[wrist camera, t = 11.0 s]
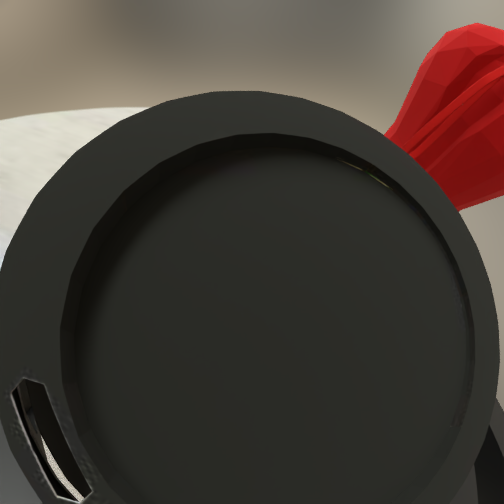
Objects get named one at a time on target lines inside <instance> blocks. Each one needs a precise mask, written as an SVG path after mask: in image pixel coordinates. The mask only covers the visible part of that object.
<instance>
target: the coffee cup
mask: <svg viewBox="0 0 504 504" xmlns="http://www.w3.org/2000/svg"><path fill="white" fill-rule="evenodd" d="M499 351H500V350H499V330H498V320H497V313H496V308H495V303H494V298H493V293H492V288H491V284H490V281H489V278H488V275H487V272H486V269H485V266H484V264H483V261H482V258H481V255H480V253H479V250H478V248H477V246H476V243H475V242H474V240H473V238H472V236H471V234H470V232H469V230H468V228H467V226H466V224H465V223H464V221H463V219H462V217H461V215H460V214H459V212H458V211H457V209H456V208H455V206H454V205H453V204H452V202H451V201H450V200H449V198H448V197H447V195H446V194H445V193H444V191H443V190H442V189H441V187H440V186H439V185H438V184H437V182H436V181H435V180H434V179H433V178H432V177H431V176H430V175H429V174H428V173H427V172H426V171H425V170H424V169H423V168H422V167H421V166H420V165H419V164H418V163H417V162H416V161H415V160H414V159H413V158H412V157H411V156H410V155H409V154H408V153H406V152H405V151H404V150H403V149H401V148H400V147H399V146H397V145H396V144H395V143H393V142H392V141H391V140H389V139H388V138H387V137H385V136H384V135H383V134H381V133H380V132H378V131H377V130H375V129H373V128H371V127H370V126H368V125H366V124H364V123H362V122H360V121H359V120H357V119H355V118H353V117H351V116H349V115H347V114H345V113H343V112H341V111H338V110H335V109H333V108H330V107H327V106H324V105H321V104H318V103H315V102H312V101H309V100H306V99H303V98H298V97H293V96H287V95H282V94H275V93H269V92H262V91H219V92H209V93H204V94H198V95H193V96H188V97H184V98H179V99H175V100H170V101H166V102H164V103H161V104H159V105H156V106H154V107H151V108H149V109H146V110H144V111H142V112H139V113H137V114H135V115H132V116H130V117H128V118H126V119H123V120H121V121H119V122H118V123H116V124H115V125H113V126H112V127H110V128H109V129H107V130H106V131H104V132H103V133H101V134H100V135H98V136H97V137H96V138H94V139H93V140H91V141H90V142H89V143H87V144H86V145H84V146H83V147H82V148H80V149H79V150H78V151H76V152H75V153H74V154H73V155H72V156H71V157H70V158H69V159H68V160H67V161H66V162H65V164H64V165H63V166H62V167H61V168H60V169H59V170H58V171H57V172H56V173H55V174H54V176H53V177H52V178H51V179H50V180H49V181H48V182H47V183H46V185H45V186H44V187H43V188H42V189H41V190H40V192H39V193H38V194H37V195H36V197H35V198H34V200H33V202H32V203H31V205H30V207H29V208H28V210H27V212H26V214H25V216H24V217H23V219H22V221H21V223H20V225H19V226H18V228H17V230H16V232H15V234H14V236H13V238H12V240H11V242H10V244H9V246H8V248H7V250H6V253H5V256H4V260H3V263H2V267H1V270H0V420H1V423H2V427H3V430H4V433H5V436H6V439H7V442H8V445H9V447H10V450H11V452H12V454H13V456H14V458H15V460H16V461H17V463H18V465H19V467H20V468H21V470H22V472H23V474H24V475H25V477H26V479H27V480H28V482H29V483H30V485H31V487H32V488H33V490H34V491H35V493H36V494H37V496H38V497H39V499H40V500H41V502H42V503H43V504H450V502H451V501H452V499H453V498H454V497H455V495H456V494H457V492H458V491H459V489H460V488H461V486H462V485H463V483H464V482H465V480H466V479H467V477H468V475H469V473H470V471H471V469H472V467H473V465H474V462H475V460H476V458H477V456H478V454H479V452H480V449H481V447H482V445H483V442H484V440H485V437H486V433H487V430H488V427H489V423H490V420H491V416H492V412H493V408H494V404H495V399H496V392H497V384H498V375H499V363H500V352H499ZM24 378H25V382H26V386H27V390H28V394H29V398H30V402H31V406H32V409H33V412H34V416H35V419H36V422H37V425H38V429H39V432H40V434H41V436H42V438H43V439H44V441H45V443H46V445H47V447H48V449H49V450H50V452H51V454H52V456H53V457H54V459H55V461H56V463H57V464H58V466H59V468H60V469H61V471H62V472H63V474H64V476H65V477H66V478H67V480H68V481H69V482H70V483H71V484H72V485H73V486H74V487H75V489H76V490H77V491H78V492H79V493H80V494H81V495H82V496H83V497H84V498H85V499H84V500H82V501H81V502H79V501H78V500H77V499H76V498H75V497H74V496H73V495H72V494H71V493H70V492H69V490H68V489H67V488H66V487H65V486H64V485H63V484H62V483H61V481H60V480H59V479H58V478H57V476H56V475H55V473H54V471H53V470H52V468H51V466H50V465H49V463H48V461H47V460H46V458H45V456H44V454H43V453H42V451H41V449H40V447H39V445H38V443H37V442H36V440H35V438H34V436H33V434H32V432H31V429H30V426H29V422H28V419H27V416H26V412H25V409H24V405H23V402H22V398H21V394H20V390H19V386H18V385H19V383H20V382H21V381H22V380H23V379H24Z"/></svg>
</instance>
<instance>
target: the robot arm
mask: <svg viewBox="0 0 504 504" xmlns="http://www.w3.org/2000/svg"><path fill="white" fill-rule="evenodd" d="M18 386H19V390H20V394H21V398H22V402H23V405H24V409H25V412H26V416H27V419H28V422H29V426H30V429H31V432H32V434H33V436H34V438H35V440H36V442H37V443H38V445H39V447H40V449H41V451H42V453H43V454H44V456H45V458H46V460H47V457H46V454H45V450H44V446H43V442H42V438H41V434H40V432H39V429H38V425H37V422H36V419H35V416H34V412H33V409H32V406H31V402H30V398H29V394H28V390H27V386H26V382H25V378H24V379H23V380H22V381H21V382H20V383H19V385H18ZM0 504H43V503H42V502H41V500H40V499H39V497H38V496H37V494H36V493H35V491H34V490H33V488H32V487H31V485H30V483H29V482H28V480H27V479H26V477H25V475H24V474H23V472H22V470H21V468H20V467H19V465H18V463H17V461H16V460H15V458H14V456H13V454H12V452H11V450H10V447H9V445H8V442H7V439H6V436H5V433H4V430H3V427H2V423H1V420H0ZM450 504H504V411H503V409H502V408H501V406H500V404H499V402H498V400H497V399H495V404H494V408H493V412H492V416H491V420H490V423H489V427H488V430H487V433H486V437H485V440H484V442H483V445H482V447H481V449H480V452H479V454H478V456H477V458H476V460H475V462H474V465H473V467H472V469H471V471H470V473H469V475H468V477H467V479H466V480H465V482H464V483H463V485H462V486H461V488H460V489H459V491H458V492H457V494H456V495H455V497H454V498H453V499H452V501H451V502H450Z"/></svg>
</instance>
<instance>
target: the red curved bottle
mask: <svg viewBox="0 0 504 504" xmlns="http://www.w3.org/2000/svg"><path fill="white" fill-rule="evenodd" d="M384 136H385V137H387V138H388V139H389V140H391V141H392V142H393V143H395V144H396V145H397V146H399V147H400V148H401V149H403V150H404V151H405V152H406V153H408V154H409V155H410V156H411V157H412V158H413V159H414V160H415V161H416V162H417V163H418V164H419V165H420V166H421V167H422V168H423V169H424V170H425V171H426V172H427V173H428V174H429V175H430V176H431V177H432V178H433V179H434V180H435V181H436V182H437V184H438V185H439V186H440V187H441V189H442V190H443V191H444V193H445V194H446V195H447V197H448V198H449V200H450V201H451V202H452V204H453V205H454V206H455V208H456V209H457V211H458V212H459V211H460V210H462V209H465V208H468V207H471V206H474V205H477V204H479V203H483V202H485V201H488V200H491V199H494V198H497V197H500V196H503V195H504V30H501V29H498V28H494V27H491V26H487V25H483V24H479V23H474V24H471V25H467V26H464V27H461V28H458V29H455V30H452V31H449V32H446V33H445V35H444V36H443V37H442V38H441V39H440V40H439V41H438V43H437V44H436V45H435V46H434V47H433V48H432V49H431V50H430V52H429V53H428V54H427V55H426V57H425V59H424V61H423V63H422V64H421V66H420V68H419V70H418V72H417V75H416V77H415V79H414V81H413V84H412V86H411V88H410V90H409V92H408V95H407V97H406V99H405V101H404V103H403V106H402V108H401V110H400V112H399V114H398V116H397V119H396V121H395V122H394V124H393V125H392V126H391V127H390V128H389V130H388V131H387V132H386V133H385V134H384Z"/></svg>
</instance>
